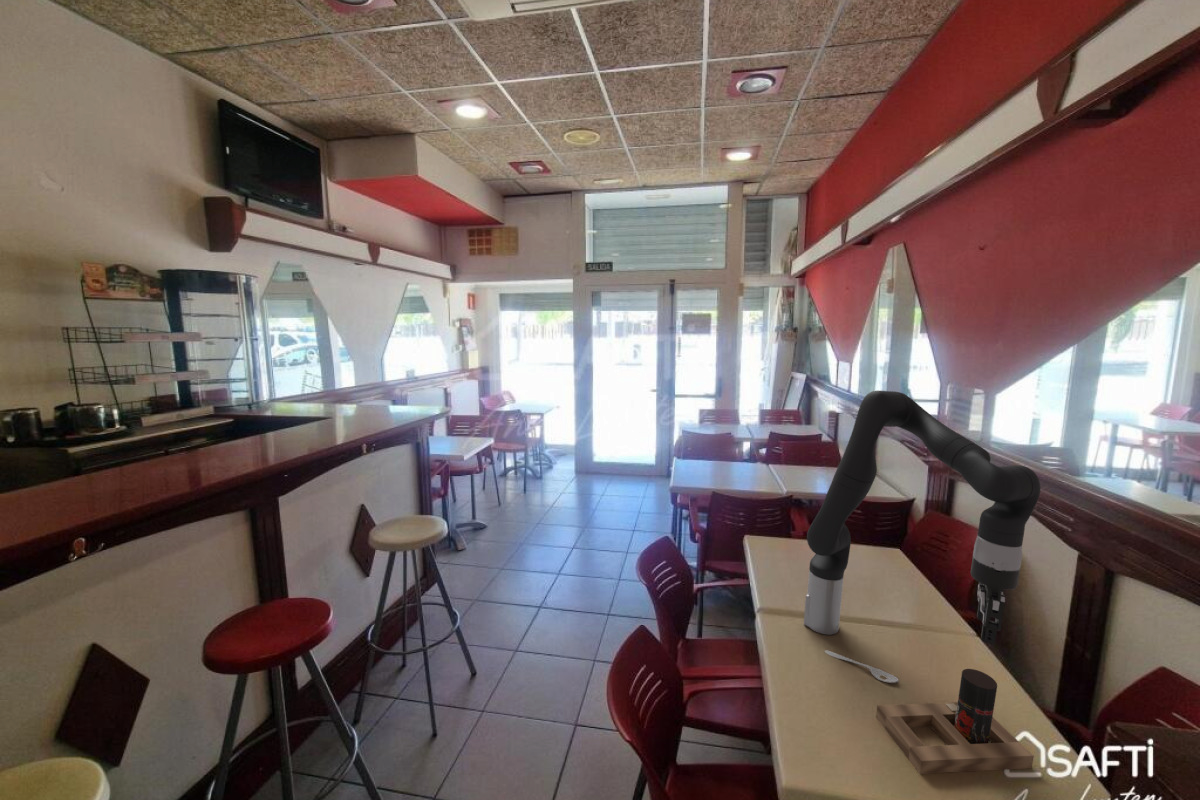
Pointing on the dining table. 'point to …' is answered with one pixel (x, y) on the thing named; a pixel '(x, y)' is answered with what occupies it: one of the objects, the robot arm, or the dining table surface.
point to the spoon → (874, 671)
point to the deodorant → (975, 706)
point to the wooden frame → (950, 741)
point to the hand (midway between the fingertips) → (985, 631)
